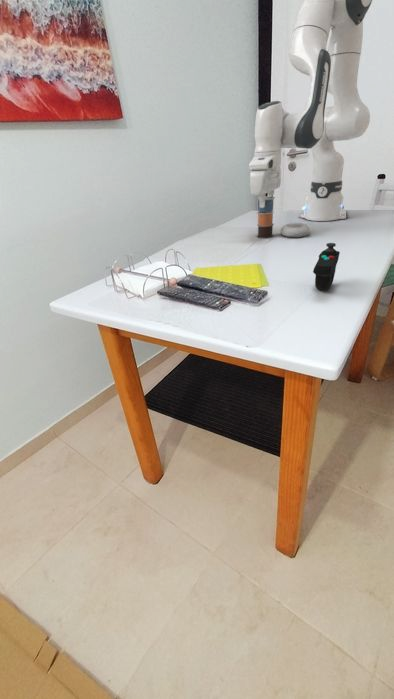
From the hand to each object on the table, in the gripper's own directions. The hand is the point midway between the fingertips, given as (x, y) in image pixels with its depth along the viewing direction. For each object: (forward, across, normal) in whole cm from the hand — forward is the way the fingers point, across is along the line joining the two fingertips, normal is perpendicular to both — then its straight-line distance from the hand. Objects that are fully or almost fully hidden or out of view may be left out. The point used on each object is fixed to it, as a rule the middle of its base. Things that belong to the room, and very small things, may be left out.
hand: (265, 205), depth 120 cm
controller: (+11, +44, +31) cm, 55 cm away
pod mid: (+6, 0, 0) cm, 6 cm away
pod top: (+2, 0, 0) cm, 2 cm away
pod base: (+11, 0, 0) cm, 11 cm away
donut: (+11, -4, +10) cm, 15 cm away
